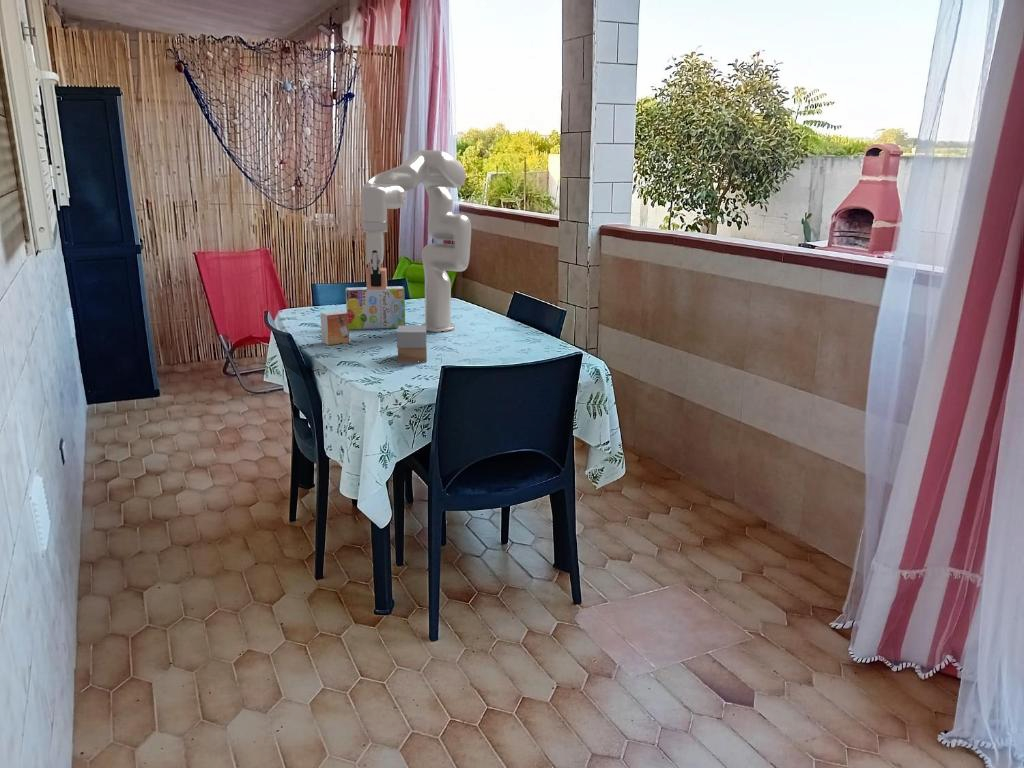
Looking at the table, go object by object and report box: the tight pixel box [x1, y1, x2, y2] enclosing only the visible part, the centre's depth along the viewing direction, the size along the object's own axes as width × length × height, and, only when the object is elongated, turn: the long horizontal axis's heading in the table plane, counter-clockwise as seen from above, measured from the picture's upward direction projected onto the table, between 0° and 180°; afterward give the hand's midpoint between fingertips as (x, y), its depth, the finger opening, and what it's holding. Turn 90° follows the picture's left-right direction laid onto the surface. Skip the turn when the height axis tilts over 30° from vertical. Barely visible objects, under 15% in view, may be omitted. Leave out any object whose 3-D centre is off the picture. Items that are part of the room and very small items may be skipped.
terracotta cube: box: [365, 267, 388, 290], centre depth 245 cm, size 6×6×6 cm
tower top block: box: [396, 325, 427, 349], centre depth 247 cm, size 9×9×5 cm
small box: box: [320, 310, 350, 346], centre depth 265 cm, size 8×6×10 cm
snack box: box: [345, 285, 406, 330], centre depth 288 cm, size 21×6×15 cm, turn 104°
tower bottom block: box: [397, 346, 428, 363], centre depth 248 cm, size 9×9×5 cm
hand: (376, 284), depth 245 cm, fingers closed on terracotta cube, 6 cm apart
